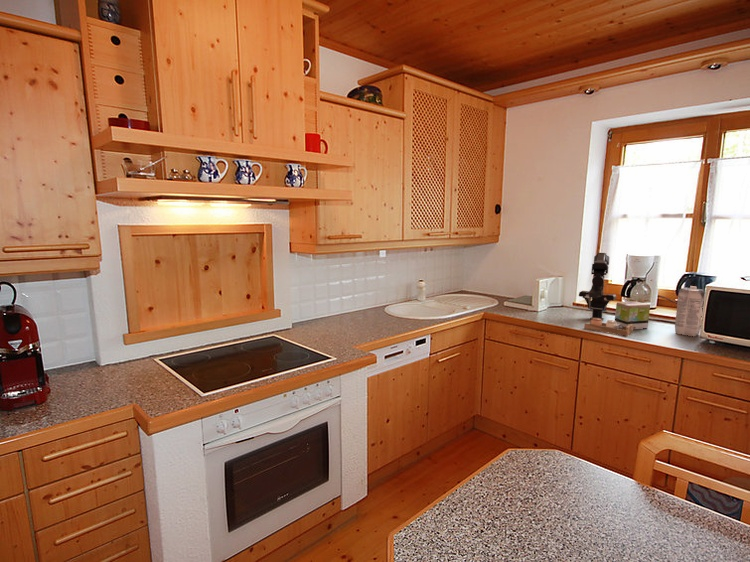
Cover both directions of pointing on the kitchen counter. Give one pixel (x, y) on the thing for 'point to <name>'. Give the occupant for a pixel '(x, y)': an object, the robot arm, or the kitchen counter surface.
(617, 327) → the pusher plate
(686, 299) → the juice carton
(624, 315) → the tea box
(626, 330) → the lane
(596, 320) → the pinkish tan cube
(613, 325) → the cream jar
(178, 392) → the kitchen counter surface
